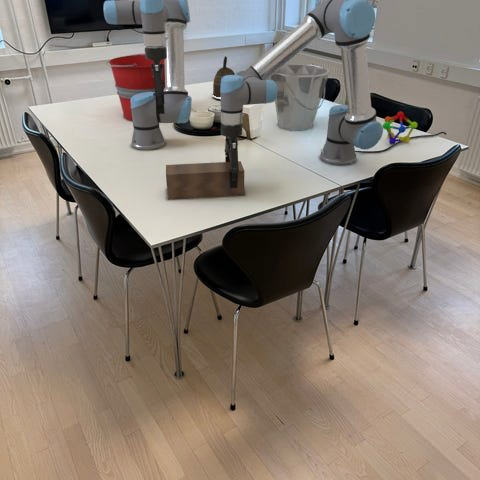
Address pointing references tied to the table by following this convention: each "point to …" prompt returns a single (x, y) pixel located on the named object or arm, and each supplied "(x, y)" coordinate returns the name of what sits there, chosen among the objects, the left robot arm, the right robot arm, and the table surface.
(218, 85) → the bell
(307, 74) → the bucket
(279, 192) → the table surface
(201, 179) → the box
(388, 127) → the educational toy
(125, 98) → the bucket
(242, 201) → the table surface
